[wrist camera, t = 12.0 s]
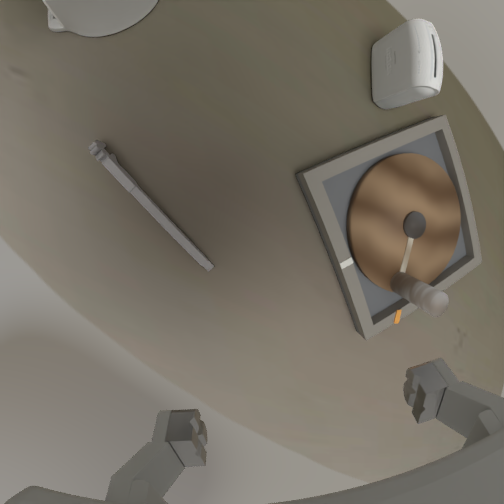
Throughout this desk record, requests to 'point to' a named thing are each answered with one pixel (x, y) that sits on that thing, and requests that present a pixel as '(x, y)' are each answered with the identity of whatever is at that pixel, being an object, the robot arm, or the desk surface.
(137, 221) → the desk surface
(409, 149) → the dial base
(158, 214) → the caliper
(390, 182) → the dial
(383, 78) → the photo printer
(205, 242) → the desk surface
